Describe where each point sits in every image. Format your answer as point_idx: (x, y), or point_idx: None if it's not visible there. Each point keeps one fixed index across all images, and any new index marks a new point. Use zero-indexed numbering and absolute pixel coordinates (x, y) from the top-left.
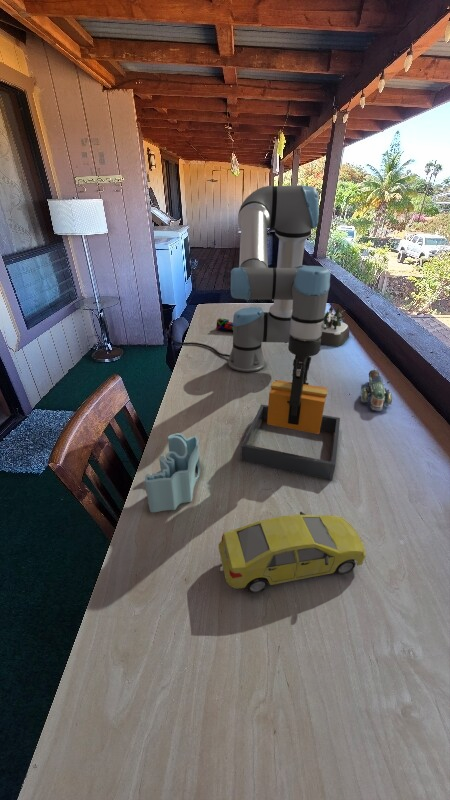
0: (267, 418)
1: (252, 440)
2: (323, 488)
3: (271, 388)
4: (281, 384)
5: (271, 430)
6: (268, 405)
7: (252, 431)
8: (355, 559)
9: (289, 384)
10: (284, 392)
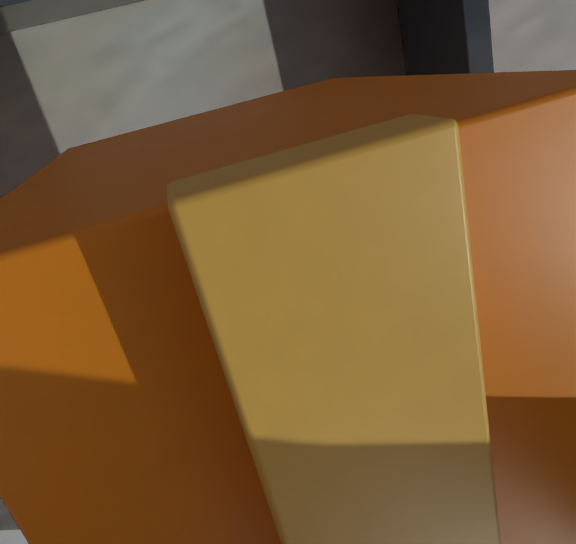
0: (54, 159)
1: (65, 14)
2: (5, 528)
3: (161, 213)
4: (397, 412)
5: (299, 71)
6: (3, 198)
7: (27, 2)
8: None
9: (478, 532)
10: (179, 539)
